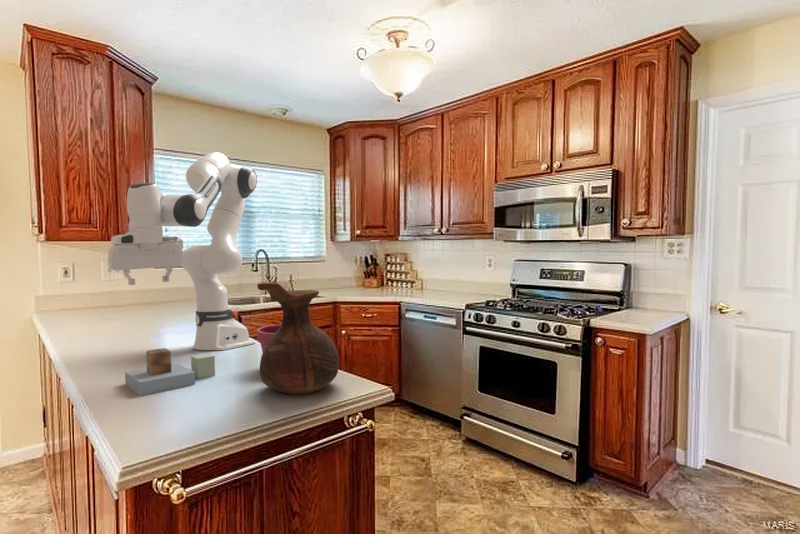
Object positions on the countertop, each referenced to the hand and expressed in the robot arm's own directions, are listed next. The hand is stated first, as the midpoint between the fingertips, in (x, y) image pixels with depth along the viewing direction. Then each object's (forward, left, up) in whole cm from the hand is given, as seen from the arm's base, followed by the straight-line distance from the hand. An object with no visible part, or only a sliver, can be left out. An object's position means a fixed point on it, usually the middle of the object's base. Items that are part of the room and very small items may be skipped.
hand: (149, 283), depth 138 cm
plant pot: (-31, +22, -28) cm, 47 cm away
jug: (-24, +44, -28) cm, 57 cm away
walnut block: (+2, +12, -24) cm, 27 cm away
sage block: (-10, +13, -28) cm, 32 cm away
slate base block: (+2, +13, -28) cm, 31 cm away
